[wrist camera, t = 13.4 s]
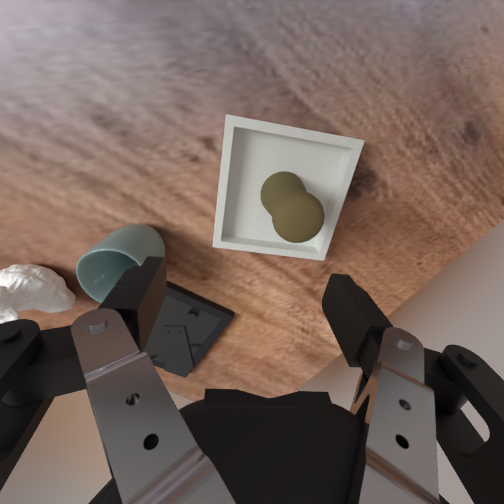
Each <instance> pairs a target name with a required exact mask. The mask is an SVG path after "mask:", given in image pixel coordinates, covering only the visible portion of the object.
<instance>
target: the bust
mask: <svg viewBox="0 0 504 504" xmlns="http://www.w3.org/2000/svg"><path fill="white" fill-rule="evenodd" d="M75 299H76V297H75V294H74V293H72V292H71V290H69V289H68V288H67V287H66V282H65V280H64V279H63V278H62V277H60V276H58V275H57V273H56V272H54V271H53V270H51V269H49V268H45V267H42V266H38V265H33V264H28V265H12V266H11V267H9V268H7V269H3V270H0V323H5V322H8V321H12V320H18V319H19V314H20V312H19V311H21V310H23V311H25V310H32V309H36V310H42V311H44V312H48V313H56V312H60V311H65V310H68V309H71V308H72V307H73V305H74V303H75Z"/></svg>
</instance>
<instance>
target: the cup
mask: <svg viewBox="0 0 504 504" xmlns="http://www.w3.org/2000/svg"><path fill="white" fill-rule="evenodd" d="M165 255H166V249H165V244H164V241H163V239H162V237H161V236H160V234H159V233H158V232H157V231H156V230H155V229H154V228H152V227H150V226H148V225H145V224H129V225H125V226H122V227H120V228H118V229H116V230H114V231H112V232H111V233H109V234H108V235H106V236H105V237H104V238H102V239H101V240H100V241H98V242H97V243H96V244H95V245H94V246H92V247H91V248H90V249H89V250H88V251H87V252H86V253H85V254H84V255H82V257H81V258H80V259H79V261H78V263H77V266H76V275H77V278H78V281H79V283H80V285H81V287H82V288H83V289H84V291H85V292H86V293H87V294H88V295H89V296H90V297H92V298H93V299H94V300H96V301H98V302H100V303H102V302H103V301H104V299H105V298H106V296H107V295H108V294H109V292H110V291H111V290H112V288H113V287H115V284H116V283H117V281H118V280H119V278H120V277H121V276H122V274H123V273H124V272H125V271H126V270H128V269H129V268H131V267H132V266H134V265H135V266H141V265H142V264H143V262H144V261H145V259H146V257H147V256H156V257H165Z"/></svg>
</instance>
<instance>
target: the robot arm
mask: <svg viewBox="0 0 504 504" xmlns="http://www.w3.org/2000/svg"><path fill="white" fill-rule="evenodd" d="M166 287H167V281H166V258H165V257H156V256H147V257H146V259H145V261H144V262H143V264H142V265H141V266H135V265H134V266H132V267H131V268H129V269H128V270H126V271H125V272H124V273H123V274H122V276H121V277H120V278H119V280H118V281H117V283H116V284H115V287H113V288H112V290H111V291H110V292H109V294H108V295H107V296H106V298H105V299H104V301H103V302H102V303H101V305H100V306H99V308H98V309H95V310H91V311H89V312H86V313H84V314H82V315H81V316H79V317H78V318H77V319H76V320H75V321H74V322H73V324H72V325H70V326H66V327H60V328H53V329H47V330H41V331H40V328H39V325H38V324H37V323H36V322H35V321H33V320H28V319H19V320H12V321H8V322H5V323H2V324H0V491H1V489H2V488H3V486H4V484H5V482H6V481H7V479H8V477H9V475H10V474H11V472H12V470H13V469H14V467H15V465H16V463H17V462H18V460H19V458H20V456H21V455H22V453H23V451H24V449H25V448H26V446H27V444H28V443H29V441H30V439H31V437H32V436H33V434H34V432H35V431H36V429H37V427H38V425H39V424H40V422H41V420H42V418H43V417H44V415H45V413H46V411H47V410H48V408H49V406H50V405H51V403H52V401H53V399H54V397H56V396H60V395H63V394H68V393H72V392H76V391H79V390H83V389H87V393H88V396H89V400H90V403H91V407H92V410H93V413H94V416H95V420H96V424H97V427H98V431H99V434H100V438H101V441H102V445H103V448H104V452H105V455H106V459H107V462H108V466H109V469H110V473H111V476H112V479H111V480H110V481H109V482H108V483H107V484H106V485H105V486H104V487H103V488H102V489H101V491H100V492H99V493H98V494H97V495H96V496H95V497H94V498H93V499H92V500H91V501H90V502H89V504H449V503H448V502H447V501H446V500H445V499H444V498H443V497H442V496H441V495H440V494H439V489H438V468H437V446H436V439H437V441H438V443H439V444H440V446H441V448H442V450H443V451H444V453H445V455H446V456H447V458H448V460H449V462H450V463H451V465H452V467H453V468H454V470H455V472H456V473H457V475H458V477H459V478H460V480H461V482H462V483H463V485H464V487H465V489H466V490H467V492H468V494H469V495H470V497H471V499H472V501H473V502H474V504H504V380H503V379H502V378H501V377H500V376H499V375H498V374H497V373H496V372H495V371H494V370H493V369H492V368H491V367H490V366H489V365H488V364H487V363H486V362H485V361H484V360H483V359H482V358H480V357H479V356H478V355H476V354H475V353H473V352H472V351H470V350H468V349H466V348H464V347H461V346H458V345H448V346H446V348H445V349H444V350H443V352H442V353H440V352H437V351H433V350H430V349H427V348H424V347H423V345H422V344H421V342H420V341H419V340H418V339H417V338H416V337H415V336H413V335H412V334H410V333H409V332H407V331H405V330H403V329H400V328H396V327H393V325H392V324H391V323H390V321H389V320H388V319H387V317H386V316H385V315H384V314H383V312H382V311H381V310H380V308H379V307H377V305H376V303H375V302H374V301H373V299H372V298H371V297H370V296H369V294H368V293H367V292H366V291H365V290H363V289H362V288H361V287H359V286H358V285H356V284H355V282H354V281H353V280H352V278H351V277H350V276H349V275H346V274H335V273H333V274H332V275H331V276H330V278H329V281H328V284H327V287H326V290H325V292H324V295H323V298H322V309H323V312H324V314H325V316H326V318H327V320H328V322H329V324H330V327H331V329H332V331H333V333H334V335H335V337H336V339H337V341H338V344H339V346H340V348H341V350H342V352H343V354H344V356H345V358H346V360H347V363H348V365H349V367H361V369H362V370H363V371H362V373H361V375H360V377H359V381H358V384H357V387H356V391H355V395H354V398H353V402H352V405H351V409H350V411H348V410H346V409H344V408H343V407H341V406H338V405H336V404H333V403H331V400H330V397H329V394H328V392H309V391H298V392H294V393H290V394H287V395H283V396H279V397H275V398H265V397H261V396H258V395H254V394H251V393H247V392H244V391H240V390H236V389H205V397H204V399H203V400H199V401H196V402H193V403H191V404H189V405H187V406H185V407H183V408H181V409H180V410H178V408H177V407H176V405H175V403H174V401H173V400H172V398H171V396H170V394H169V392H168V390H167V389H166V387H165V385H164V383H163V381H162V379H161V378H160V376H159V374H158V372H157V370H156V369H155V367H154V365H153V363H152V361H151V360H150V358H149V356H148V354H147V353H146V352H145V351H144V350H145V347H146V345H147V342H148V340H149V337H150V334H151V332H152V329H153V327H154V324H155V322H156V319H157V316H158V314H159V311H160V309H161V306H162V303H163V301H164V298H165V294H166ZM468 400H469V402H470V403H471V404H472V405H473V407H474V408H475V409H476V410H477V412H478V413H479V414H480V415H481V417H482V418H483V419H484V421H485V422H486V423H487V425H488V428H489V431H490V437H489V439H488V441H486V442H484V441H483V439H482V438H481V436H480V435H479V434H478V432H477V431H476V429H475V428H474V427H473V425H472V424H471V423H470V421H469V420H468V418H467V417H466V416H465V414H464V413H463V412H462V410H461V409H460V408H461V407H462V406H463V405H464V404H465V403H466V402H467V401H468Z"/></svg>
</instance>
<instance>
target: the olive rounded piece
mask: <svg viewBox="0 0 504 504" xmlns="http://www.w3.org/2000/svg"><path fill="white" fill-rule="evenodd" d="M260 199H261V202H262V205H263V206H264V208H265V209H266V210H267V211H268V213H269V214H270V215H271V216H272V223H273V226H274V229H275V231H276V232H277V234H278V235H279V236H280V237H281V238H283V239H284V240H286V241H288V242H292V243H303V242H306V241H309V240H310V239H312V238H313V237H315V236H316V235H317V234H318V233H319V232H320V230H321V228H322V226H323V224H324V218H325V214H324V209H323V206H322V204H321V203H320V201H319V199H317V198H316V197H315V196H313V195H312V194H311V193H308V192H307V191H306V188H305V186H304V184H303V182H302V181H301V179H300V178H299V177H298V176H297V175H295V174H294V173H291V172H288V171H281V172H277V173H274V174H272V175H271V176H270V177H268V178H267V179H266V181H265V182H264V184H263V185H262V188H261V192H260Z"/></svg>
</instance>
